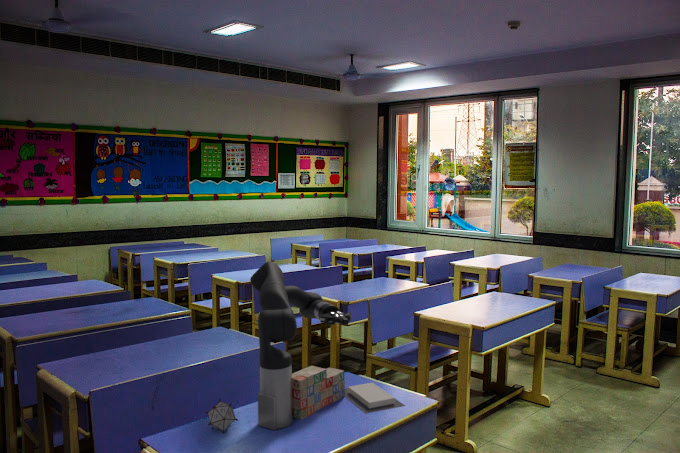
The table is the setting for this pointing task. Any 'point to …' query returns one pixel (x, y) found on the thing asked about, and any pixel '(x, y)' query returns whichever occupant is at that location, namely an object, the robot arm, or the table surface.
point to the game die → (221, 416)
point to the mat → (369, 410)
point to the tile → (371, 395)
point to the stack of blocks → (315, 389)
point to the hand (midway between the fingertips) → (346, 322)
